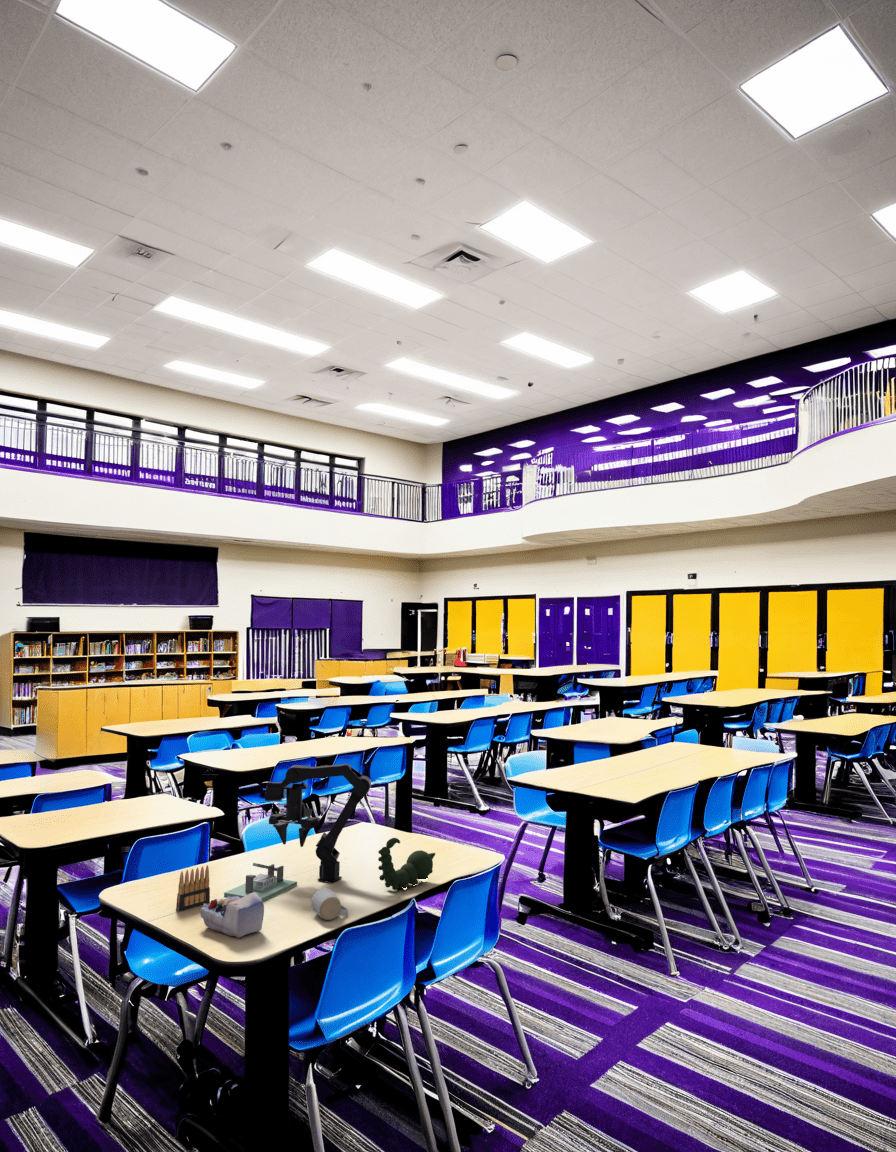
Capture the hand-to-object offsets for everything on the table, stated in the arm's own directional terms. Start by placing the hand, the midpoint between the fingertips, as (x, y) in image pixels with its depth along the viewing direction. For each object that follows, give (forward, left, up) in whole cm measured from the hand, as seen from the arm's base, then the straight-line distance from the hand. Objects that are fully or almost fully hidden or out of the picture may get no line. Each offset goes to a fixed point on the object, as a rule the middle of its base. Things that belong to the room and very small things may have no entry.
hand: (293, 845), depth 258 cm
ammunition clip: (+12, +36, -12) cm, 40 cm away
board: (+2, +14, -12) cm, 19 cm away
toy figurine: (-41, -12, -12) cm, 45 cm away
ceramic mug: (-32, +24, -12) cm, 42 cm away
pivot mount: (+2, +7, -11) cm, 13 cm away
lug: (+2, +20, -11) cm, 23 cm away
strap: (+2, +12, -5) cm, 13 cm away
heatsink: (+2, +14, -11) cm, 18 cm away
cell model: (-12, +45, -12) cm, 48 cm away
